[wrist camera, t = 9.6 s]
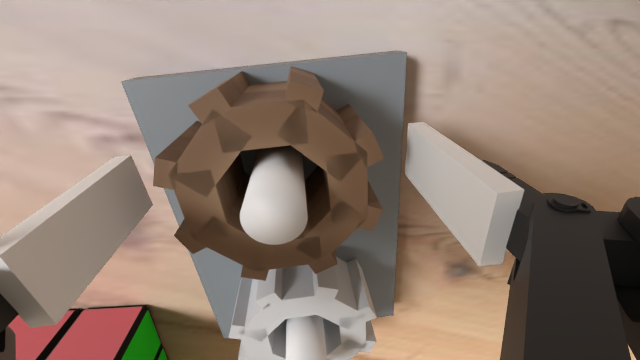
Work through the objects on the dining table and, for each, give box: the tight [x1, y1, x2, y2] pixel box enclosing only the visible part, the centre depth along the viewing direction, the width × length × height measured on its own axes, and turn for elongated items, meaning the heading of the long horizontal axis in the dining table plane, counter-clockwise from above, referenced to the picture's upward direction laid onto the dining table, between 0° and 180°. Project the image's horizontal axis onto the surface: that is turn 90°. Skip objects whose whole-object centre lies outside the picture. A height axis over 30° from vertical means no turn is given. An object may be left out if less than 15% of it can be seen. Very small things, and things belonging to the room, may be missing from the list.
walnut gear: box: [153, 66, 384, 281], centre depth 14 cm, size 9×9×5 cm
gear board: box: [122, 51, 407, 360], centre depth 16 cm, size 20×14×8 cm
